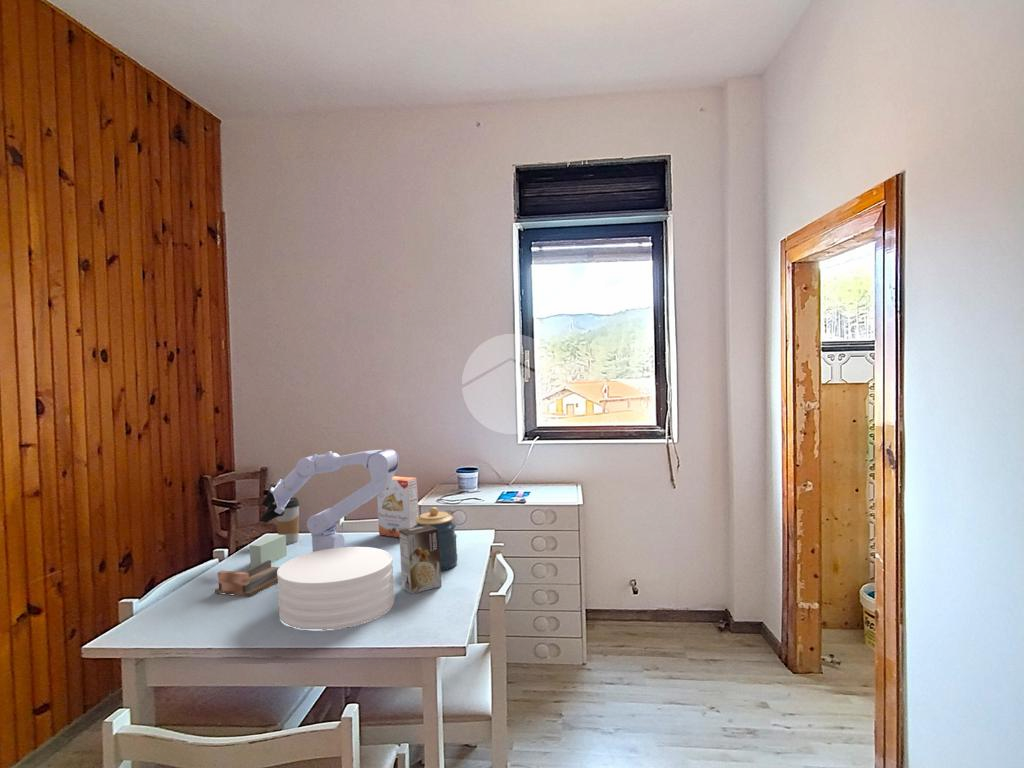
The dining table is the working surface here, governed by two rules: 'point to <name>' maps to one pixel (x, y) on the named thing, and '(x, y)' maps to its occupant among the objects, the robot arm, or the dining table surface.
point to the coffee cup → (289, 521)
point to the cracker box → (398, 506)
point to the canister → (442, 535)
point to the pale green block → (268, 550)
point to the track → (247, 580)
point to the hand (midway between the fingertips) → (263, 513)
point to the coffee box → (420, 558)
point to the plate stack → (335, 587)
